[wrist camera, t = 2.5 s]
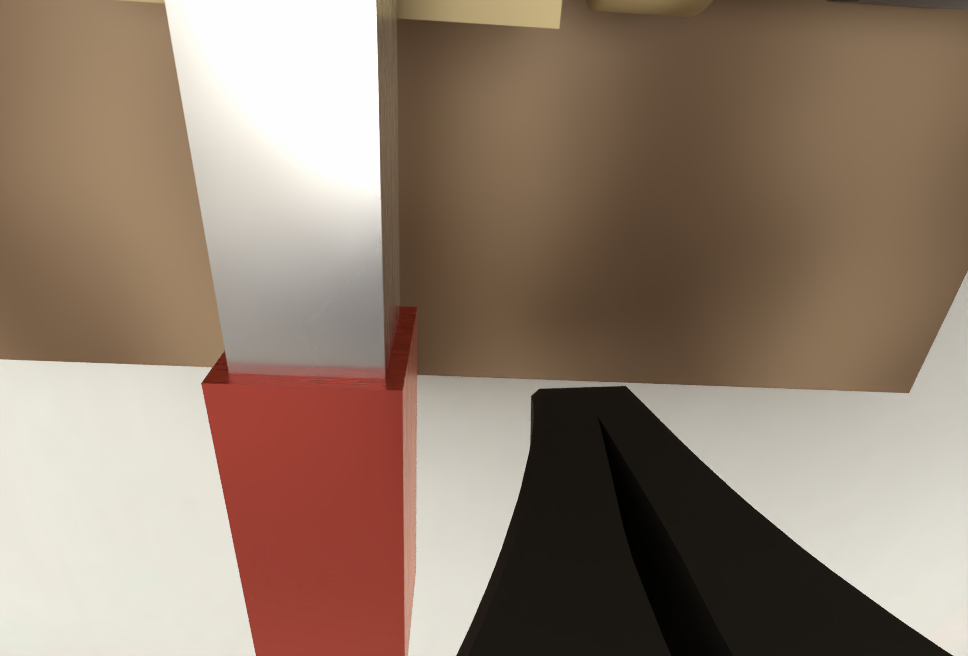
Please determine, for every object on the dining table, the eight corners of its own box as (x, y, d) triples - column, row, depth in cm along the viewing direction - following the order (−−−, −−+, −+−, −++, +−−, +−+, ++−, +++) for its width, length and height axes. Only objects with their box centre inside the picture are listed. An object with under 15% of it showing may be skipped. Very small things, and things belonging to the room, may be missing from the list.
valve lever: (124, -515, 4) (-88, -829, 3) (447, -479, 5) (434, -760, 3) (284, 568, 10) (246, 681, 8) (427, 571, 10) (418, 683, 8)
